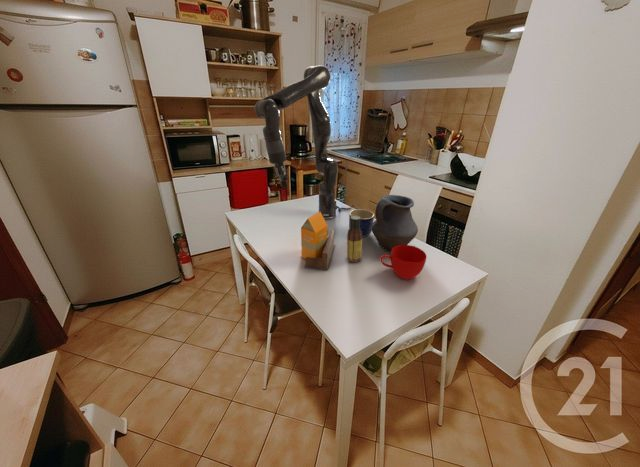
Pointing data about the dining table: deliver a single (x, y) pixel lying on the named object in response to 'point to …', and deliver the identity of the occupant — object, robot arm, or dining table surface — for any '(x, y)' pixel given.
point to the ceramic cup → (406, 261)
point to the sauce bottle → (354, 240)
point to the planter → (363, 220)
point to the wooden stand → (327, 252)
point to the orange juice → (314, 236)
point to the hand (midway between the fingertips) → (284, 188)
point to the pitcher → (394, 222)
